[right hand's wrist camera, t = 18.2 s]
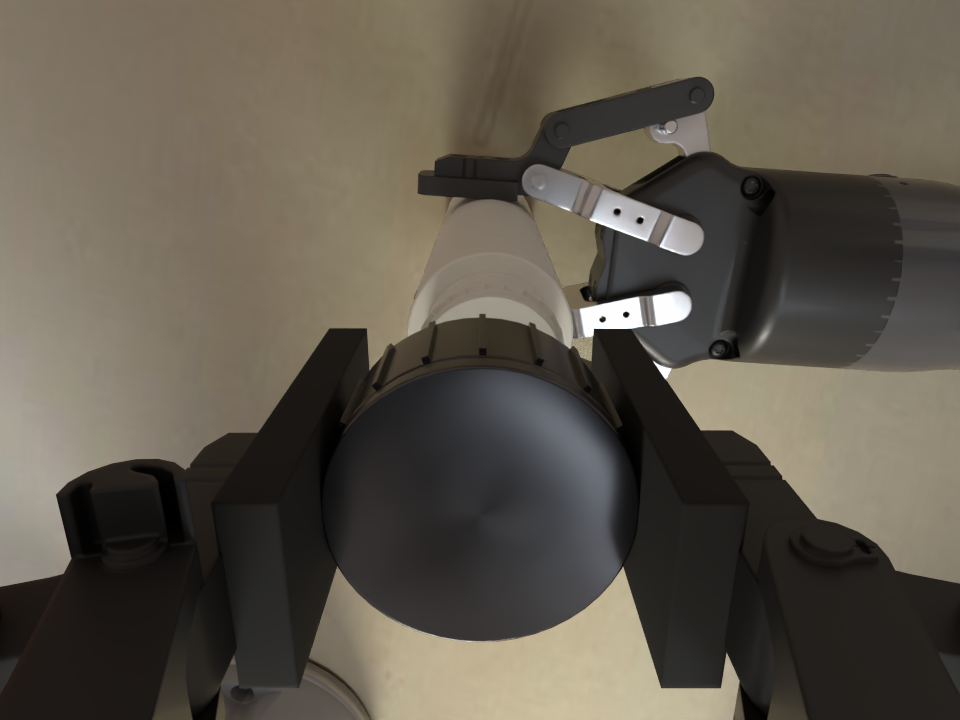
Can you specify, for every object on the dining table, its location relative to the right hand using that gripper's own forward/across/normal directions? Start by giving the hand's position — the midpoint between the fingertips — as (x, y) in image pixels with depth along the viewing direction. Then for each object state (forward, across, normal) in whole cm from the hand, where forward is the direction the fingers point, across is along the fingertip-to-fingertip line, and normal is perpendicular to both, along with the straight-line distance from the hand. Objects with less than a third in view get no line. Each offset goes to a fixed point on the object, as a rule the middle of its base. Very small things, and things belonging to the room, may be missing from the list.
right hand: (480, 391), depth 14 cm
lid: (-4, 0, 0) cm, 4 cm away
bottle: (+20, 0, 0) cm, 20 cm away
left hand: (+14, -2, 0) cm, 14 cm away
